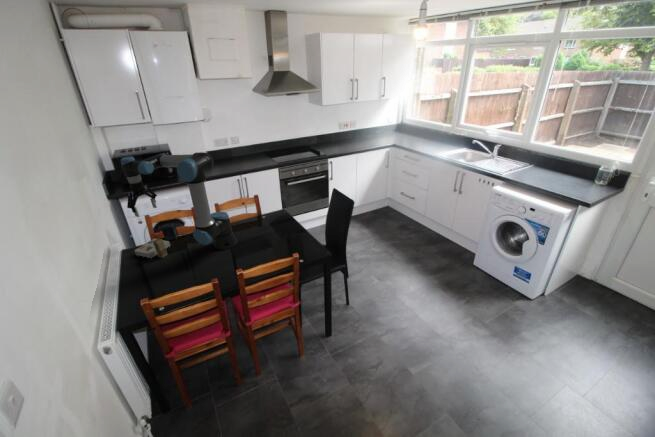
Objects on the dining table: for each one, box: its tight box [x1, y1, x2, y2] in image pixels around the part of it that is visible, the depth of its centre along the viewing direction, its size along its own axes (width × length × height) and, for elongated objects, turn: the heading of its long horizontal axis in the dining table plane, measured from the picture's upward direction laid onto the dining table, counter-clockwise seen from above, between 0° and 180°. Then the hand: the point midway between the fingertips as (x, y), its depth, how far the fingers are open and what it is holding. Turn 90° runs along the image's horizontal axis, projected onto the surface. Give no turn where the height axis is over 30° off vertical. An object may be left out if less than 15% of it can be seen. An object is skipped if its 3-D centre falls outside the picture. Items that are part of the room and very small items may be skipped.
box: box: [160, 222, 180, 241], centre depth 227 cm, size 8×6×11 cm
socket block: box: [133, 238, 171, 260], centre depth 215 cm, size 14×16×4 cm
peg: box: [153, 238, 169, 259], centre depth 206 cm, size 4×4×12 cm
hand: (146, 212), depth 210 cm, fingers open, 13 cm apart
